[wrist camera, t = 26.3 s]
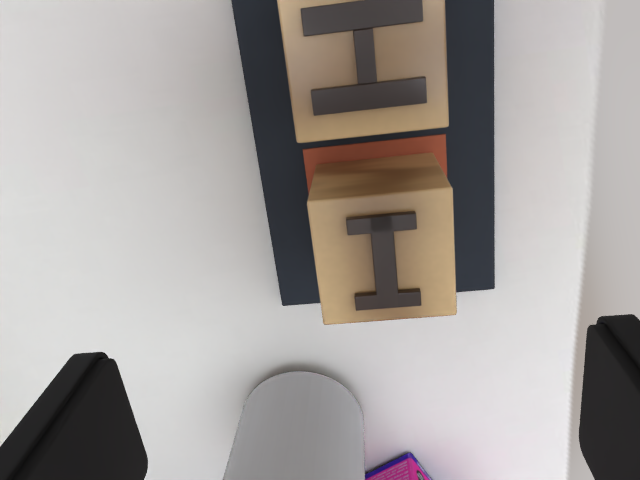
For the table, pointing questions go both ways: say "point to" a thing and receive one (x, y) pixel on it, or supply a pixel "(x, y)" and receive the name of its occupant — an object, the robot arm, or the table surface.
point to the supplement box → (399, 470)
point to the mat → (374, 144)
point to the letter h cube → (365, 66)
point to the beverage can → (299, 431)
